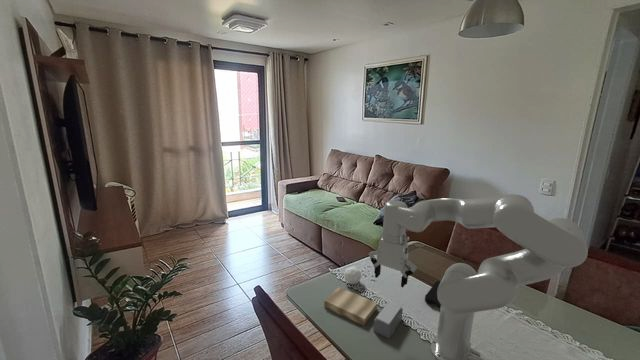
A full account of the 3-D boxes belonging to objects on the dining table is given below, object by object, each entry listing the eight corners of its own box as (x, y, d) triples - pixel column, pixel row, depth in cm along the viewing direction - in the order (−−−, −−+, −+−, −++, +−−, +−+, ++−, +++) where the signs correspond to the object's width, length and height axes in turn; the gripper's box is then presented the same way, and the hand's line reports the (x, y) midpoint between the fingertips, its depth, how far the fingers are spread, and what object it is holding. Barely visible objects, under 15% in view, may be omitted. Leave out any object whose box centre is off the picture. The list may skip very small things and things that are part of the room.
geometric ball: (356, 288, 134) (365, 280, 129) (341, 285, 131) (349, 277, 126) (355, 273, 139) (363, 265, 134) (340, 269, 137) (348, 261, 132)
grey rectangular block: (401, 319, 111) (402, 306, 109) (388, 339, 101) (389, 325, 100) (387, 313, 114) (388, 300, 113) (373, 331, 105) (374, 317, 103)
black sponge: (444, 312, 115) (445, 304, 114) (422, 303, 120) (423, 295, 119) (455, 292, 127) (456, 285, 126) (436, 285, 132) (437, 278, 131)
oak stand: (376, 309, 116) (377, 302, 115) (364, 325, 107) (364, 318, 106) (338, 293, 126) (338, 287, 125) (324, 307, 117) (324, 300, 117)
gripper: (422, 239, 97) (417, 283, 101) (375, 226, 107) (372, 268, 111) (415, 247, 91) (410, 295, 95) (365, 233, 101) (363, 277, 105)
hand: (390, 280), depth 103 cm, fingers open, 9 cm apart
